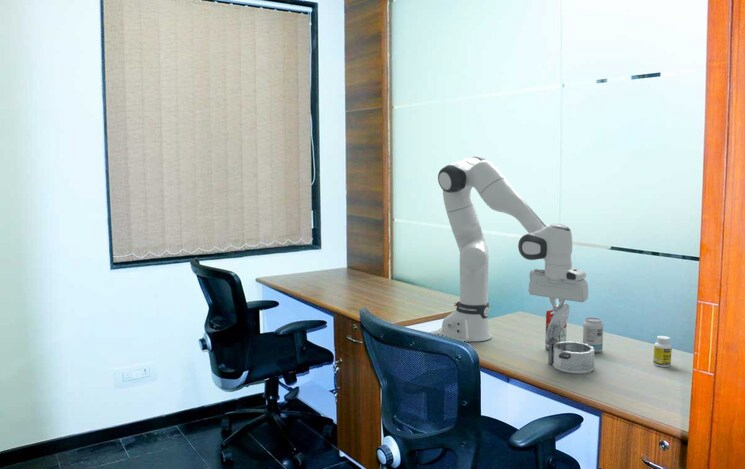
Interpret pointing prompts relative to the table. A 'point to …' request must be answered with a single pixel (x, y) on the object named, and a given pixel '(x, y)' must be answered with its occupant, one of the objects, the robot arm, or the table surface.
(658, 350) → the supplement bottle
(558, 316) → the lid
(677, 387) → the table surface
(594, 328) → the beverage can
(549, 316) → the ink box
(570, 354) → the pot
